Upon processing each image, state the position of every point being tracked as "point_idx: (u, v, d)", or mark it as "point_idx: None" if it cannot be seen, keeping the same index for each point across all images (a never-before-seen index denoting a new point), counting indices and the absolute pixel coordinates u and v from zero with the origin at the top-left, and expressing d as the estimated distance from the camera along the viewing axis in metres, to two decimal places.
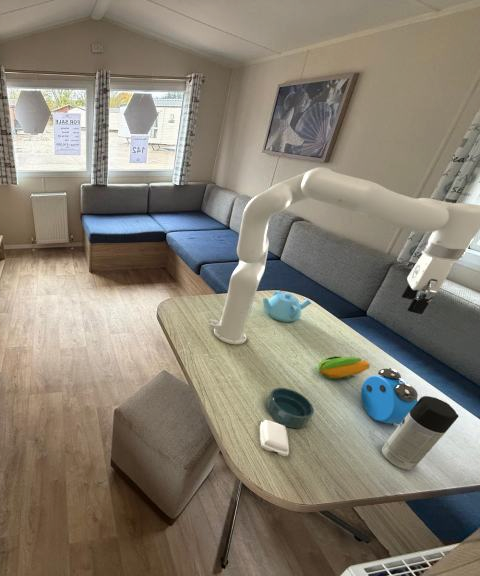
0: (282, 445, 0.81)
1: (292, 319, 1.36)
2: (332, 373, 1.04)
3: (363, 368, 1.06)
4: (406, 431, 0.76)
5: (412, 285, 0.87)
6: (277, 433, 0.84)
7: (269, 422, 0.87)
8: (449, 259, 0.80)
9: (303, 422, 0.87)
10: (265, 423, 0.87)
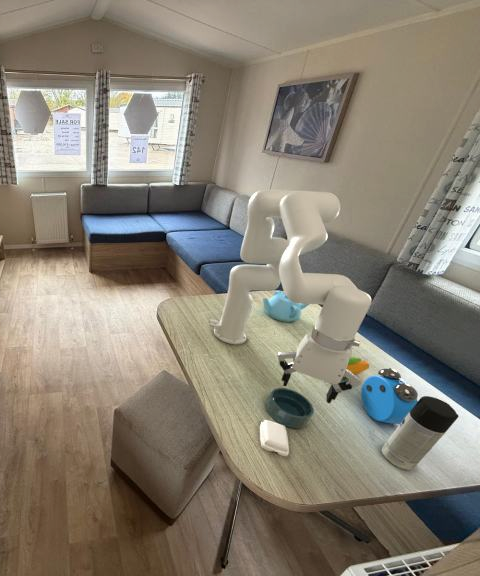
0: (282, 445, 0.81)
1: (292, 319, 1.36)
2: None
3: (363, 368, 1.06)
4: (406, 431, 0.76)
5: None
6: (277, 433, 0.84)
7: (269, 422, 0.87)
8: (310, 337, 0.73)
9: (303, 422, 0.87)
10: (265, 423, 0.87)
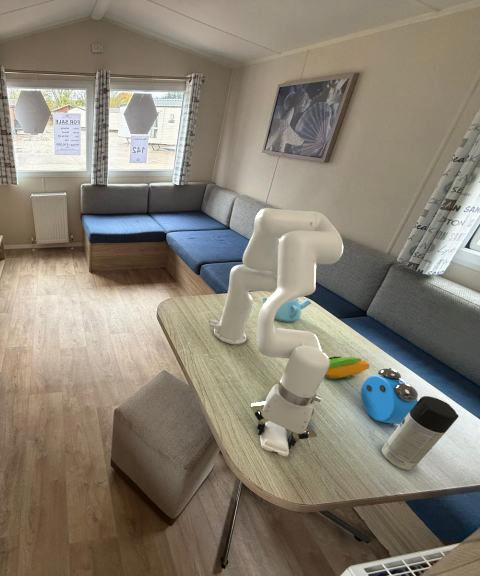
0: (282, 445, 0.81)
1: (292, 319, 1.36)
2: (332, 373, 1.04)
3: (363, 368, 1.06)
4: (406, 431, 0.76)
5: None
6: (277, 433, 0.84)
7: (269, 422, 0.87)
8: (277, 390, 0.78)
9: None
10: (265, 423, 0.87)
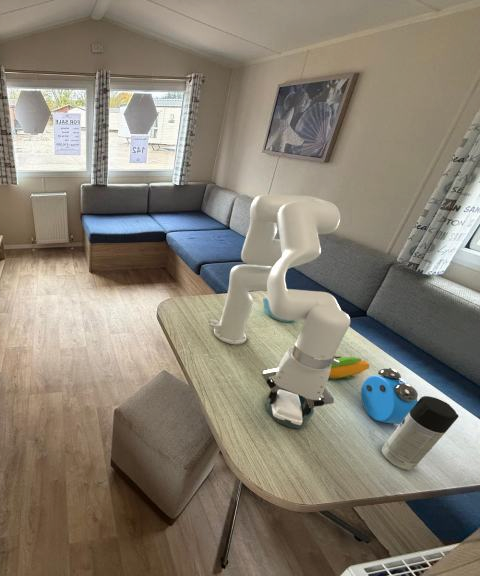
0: (296, 413, 0.77)
1: None
2: (332, 373, 1.04)
3: (363, 368, 1.06)
4: (406, 431, 0.76)
5: None
6: (290, 402, 0.80)
7: (281, 391, 0.83)
8: (291, 354, 0.74)
9: (303, 422, 0.87)
10: (277, 392, 0.83)
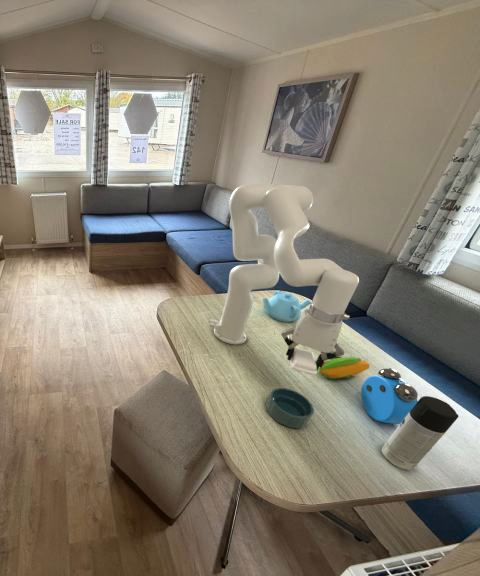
0: (311, 365, 0.89)
1: (292, 319, 1.36)
2: (332, 373, 1.04)
3: (363, 368, 1.06)
4: (406, 431, 0.76)
5: None
6: (305, 357, 0.92)
7: (297, 349, 0.95)
8: (307, 313, 0.86)
9: (303, 422, 0.87)
10: (294, 350, 0.95)
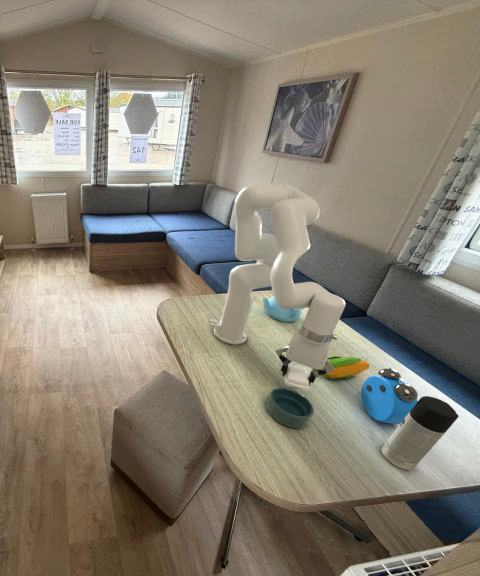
0: (304, 381, 0.95)
1: (292, 319, 1.36)
2: (332, 373, 1.04)
3: (363, 368, 1.06)
4: (406, 431, 0.76)
5: None
6: (298, 373, 0.98)
7: (291, 365, 1.01)
8: (299, 332, 0.93)
9: (303, 422, 0.87)
10: (288, 366, 1.01)
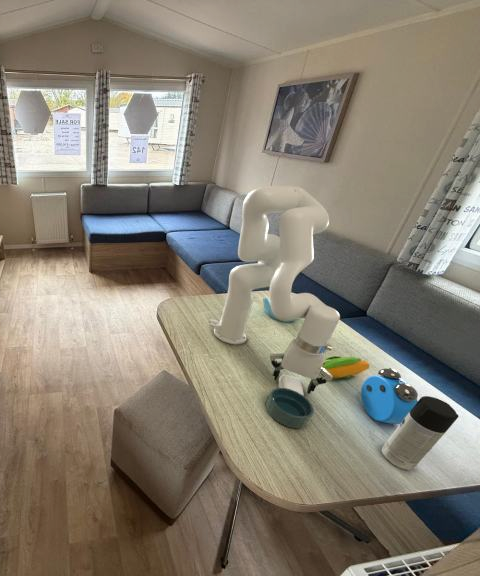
0: (299, 392, 0.97)
1: None
2: (332, 373, 1.04)
3: (363, 368, 1.06)
4: (406, 431, 0.76)
5: None
6: (293, 383, 1.00)
7: (286, 376, 1.04)
8: (295, 343, 0.95)
9: (303, 422, 0.87)
10: (283, 376, 1.04)
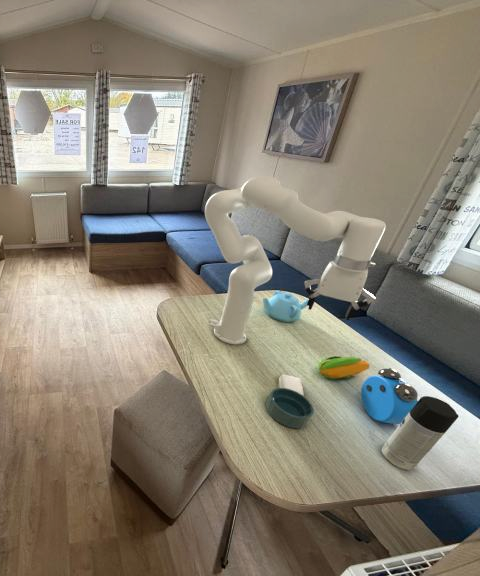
0: (299, 392, 0.97)
1: (292, 319, 1.36)
2: (332, 373, 1.04)
3: (363, 368, 1.06)
4: (406, 431, 0.76)
5: None
6: (293, 383, 1.00)
7: (286, 376, 1.04)
8: (334, 263, 0.89)
9: (303, 422, 0.87)
10: (283, 376, 1.04)
